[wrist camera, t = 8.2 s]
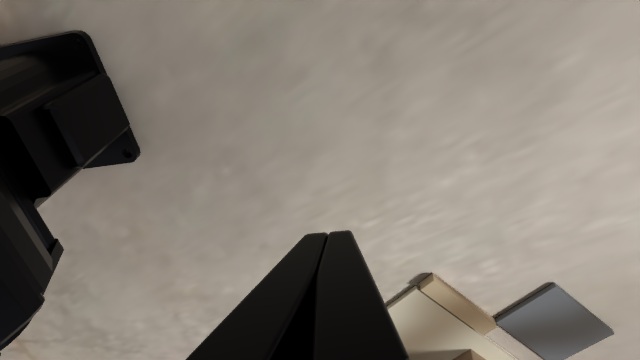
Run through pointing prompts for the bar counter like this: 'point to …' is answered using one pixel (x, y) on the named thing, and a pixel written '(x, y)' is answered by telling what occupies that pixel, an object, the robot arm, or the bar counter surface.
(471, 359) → the walnut block
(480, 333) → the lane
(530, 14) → the bar counter surface
